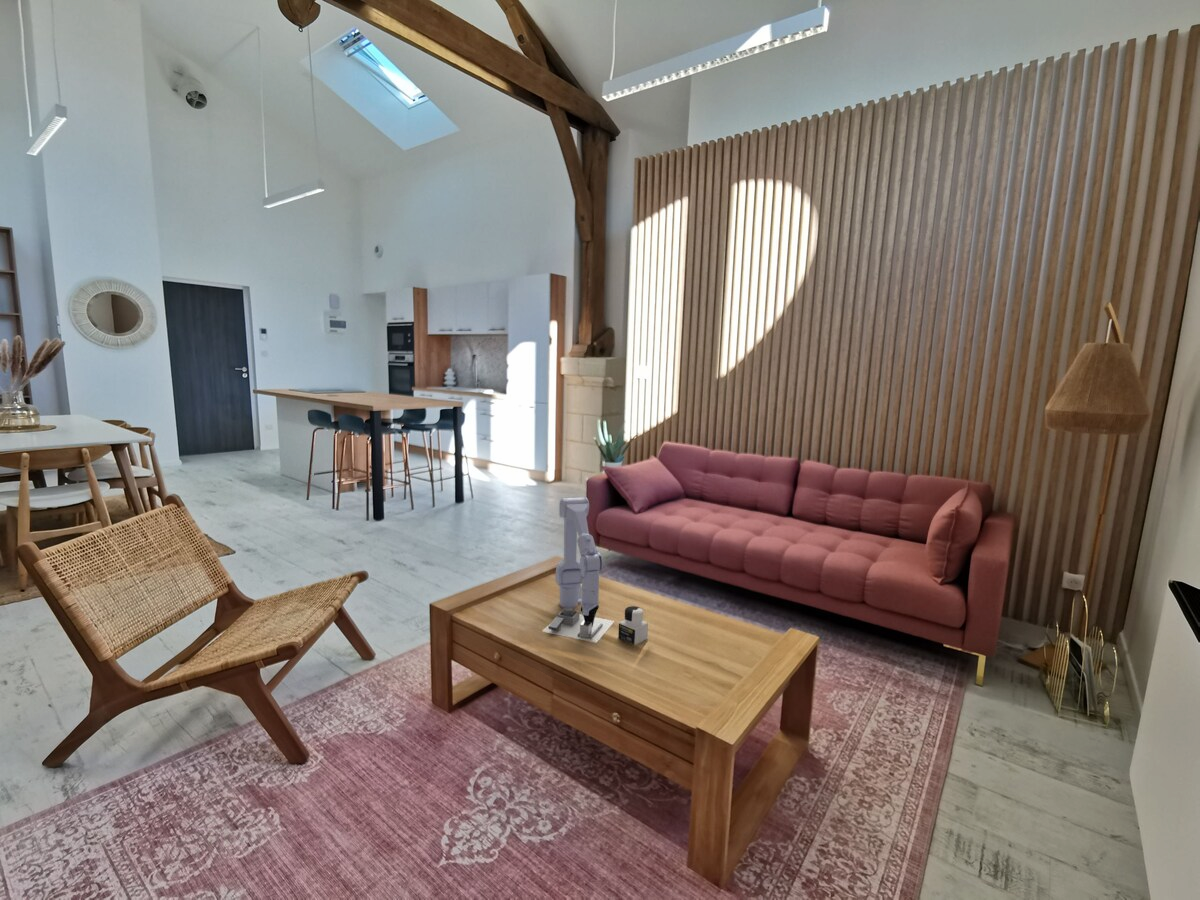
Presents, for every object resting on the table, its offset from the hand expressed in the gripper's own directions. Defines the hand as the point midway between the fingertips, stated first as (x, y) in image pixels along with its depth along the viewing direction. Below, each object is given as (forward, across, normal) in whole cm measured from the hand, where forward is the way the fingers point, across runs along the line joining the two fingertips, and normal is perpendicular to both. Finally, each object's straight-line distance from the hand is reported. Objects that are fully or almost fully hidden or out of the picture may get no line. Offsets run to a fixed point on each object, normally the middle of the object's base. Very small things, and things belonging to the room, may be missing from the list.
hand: (589, 626), depth 200 cm
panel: (+3, -4, -4) cm, 7 cm away
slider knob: (+2, +3, -1) cm, 4 cm away
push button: (+2, -7, -9) cm, 11 cm away
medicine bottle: (+4, 0, +15) cm, 16 cm away
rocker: (0, +1, -11) cm, 11 cm away
